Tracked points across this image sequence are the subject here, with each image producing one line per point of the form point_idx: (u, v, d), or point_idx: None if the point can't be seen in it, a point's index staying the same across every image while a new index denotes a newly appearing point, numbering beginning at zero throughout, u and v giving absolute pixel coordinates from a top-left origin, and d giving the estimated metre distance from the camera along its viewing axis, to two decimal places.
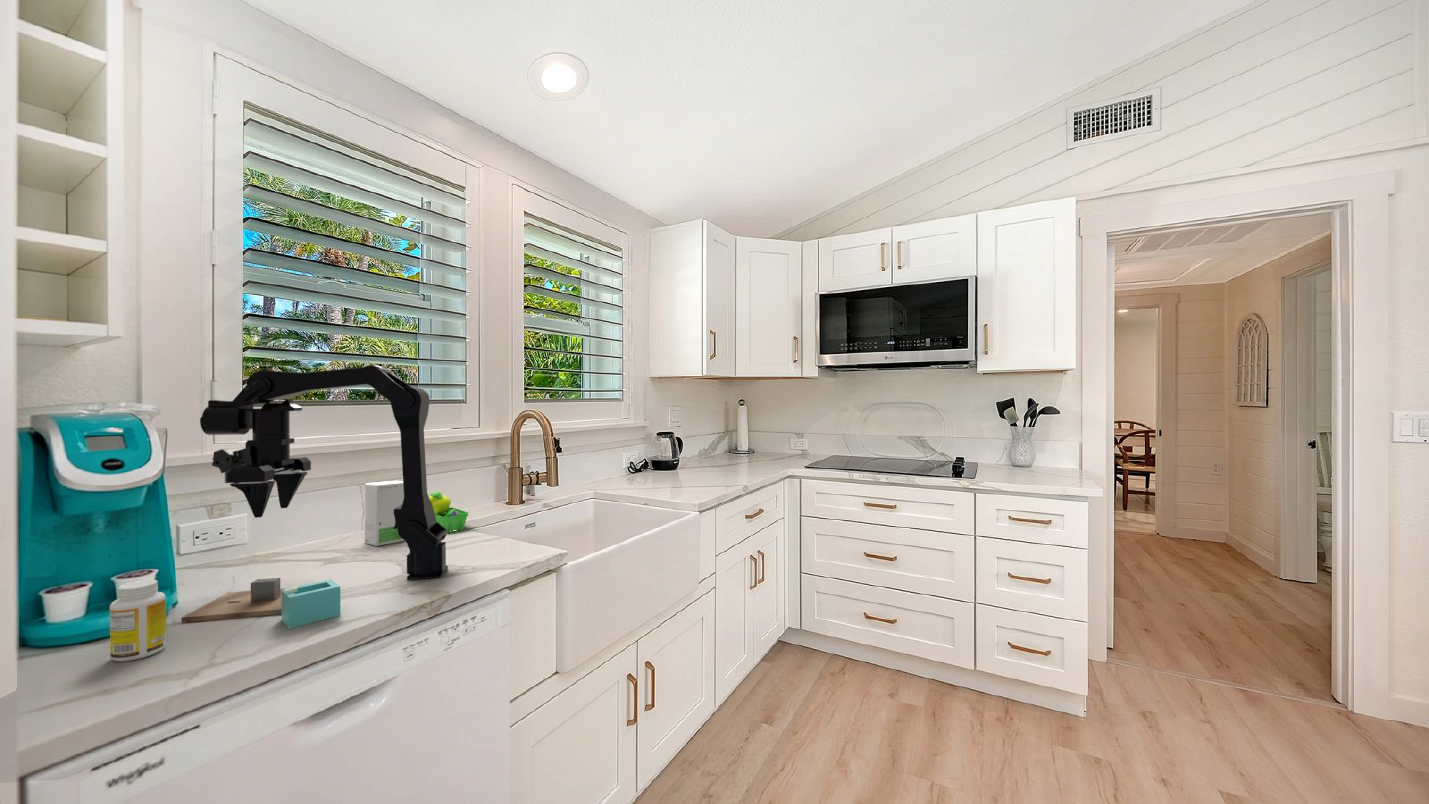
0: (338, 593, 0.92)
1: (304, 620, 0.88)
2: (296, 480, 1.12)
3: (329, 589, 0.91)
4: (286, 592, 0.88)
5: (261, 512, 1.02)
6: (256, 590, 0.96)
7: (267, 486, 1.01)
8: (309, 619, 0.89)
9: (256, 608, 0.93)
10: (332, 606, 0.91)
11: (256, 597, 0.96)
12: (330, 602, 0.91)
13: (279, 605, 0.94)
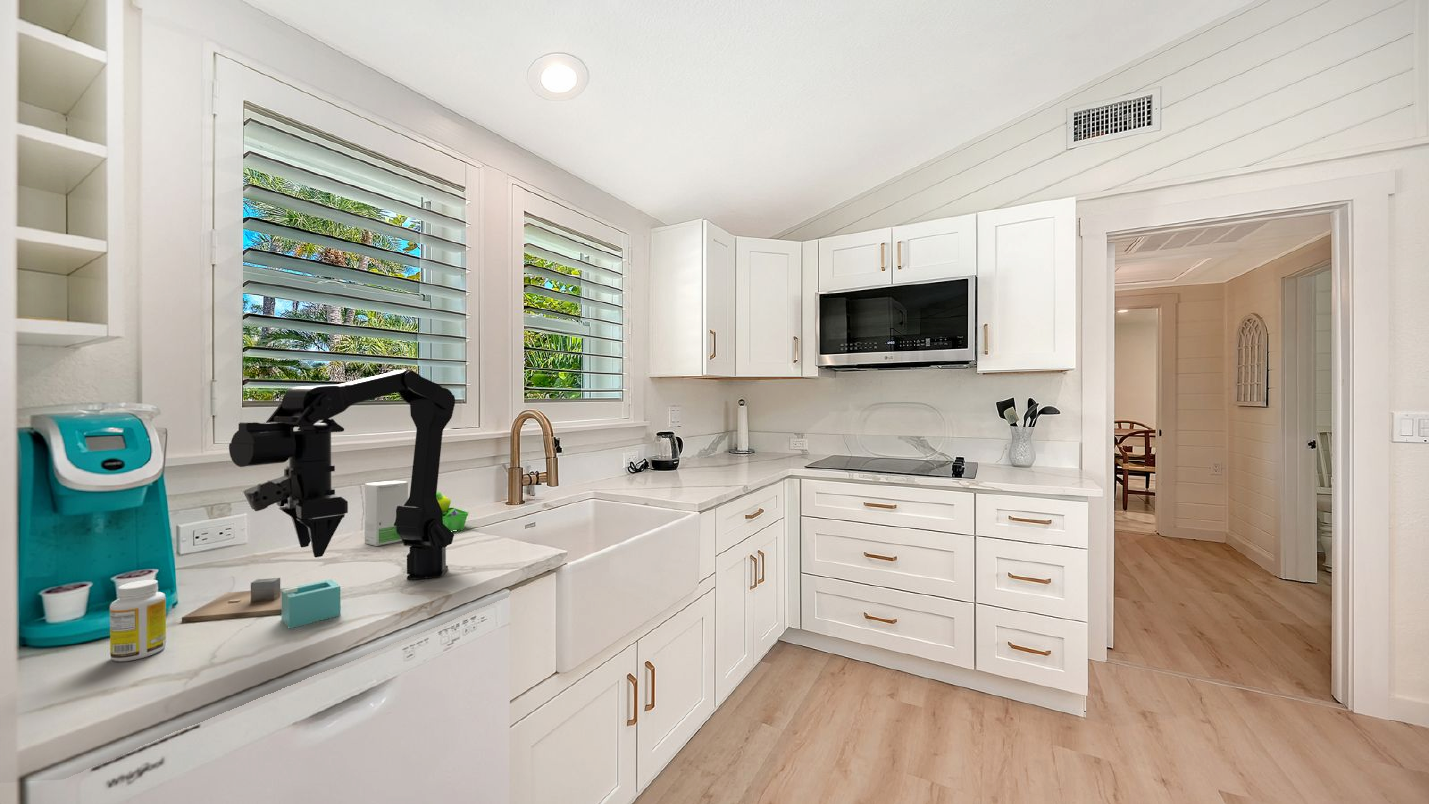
0: (338, 593, 0.92)
1: (304, 620, 0.88)
2: None
3: (329, 589, 0.91)
4: (286, 592, 0.88)
5: (324, 550, 0.88)
6: (256, 590, 0.96)
7: (341, 518, 0.89)
8: (309, 619, 0.89)
9: (256, 608, 0.93)
10: (332, 606, 0.91)
11: (256, 597, 0.96)
12: (330, 602, 0.91)
13: (279, 605, 0.94)
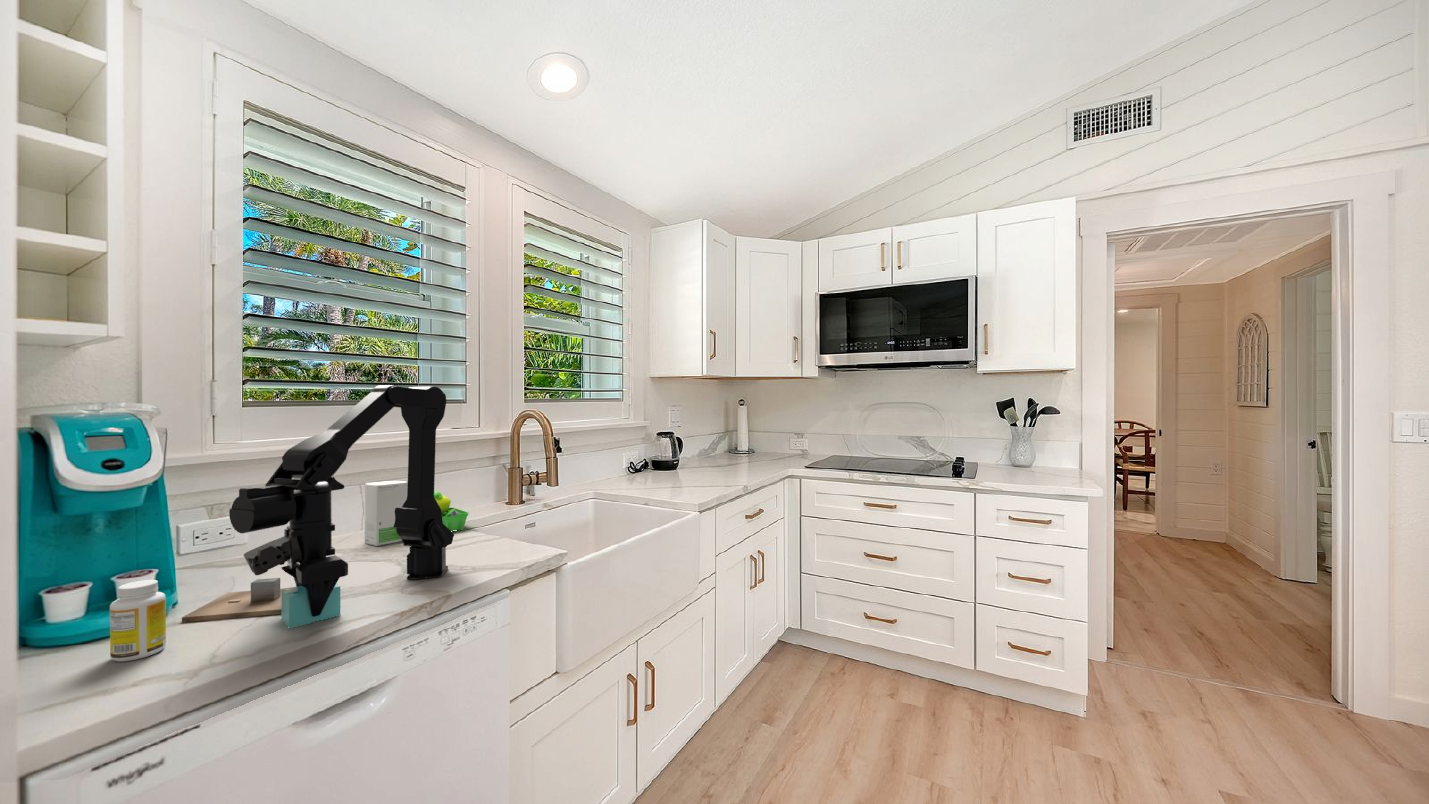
0: (338, 593, 0.92)
1: (304, 621, 0.88)
2: None
3: None
4: (286, 592, 0.88)
5: (321, 609, 0.89)
6: (256, 590, 0.96)
7: (338, 578, 0.90)
8: (309, 619, 0.89)
9: (256, 608, 0.93)
10: (332, 606, 0.91)
11: (256, 597, 0.96)
12: (330, 602, 0.91)
13: (279, 605, 0.94)
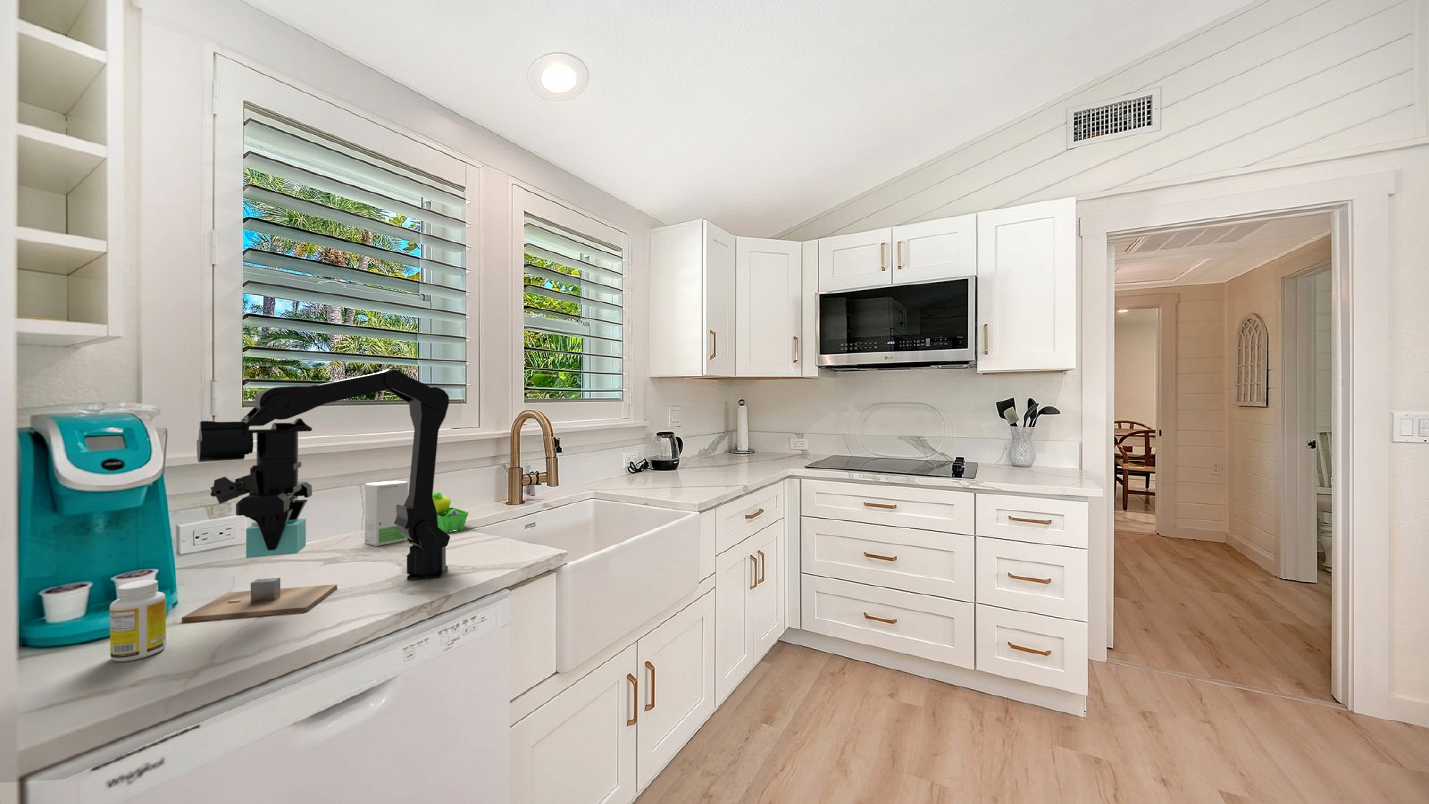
0: (295, 531, 0.94)
1: (261, 553, 0.92)
2: (297, 509, 0.99)
3: (286, 526, 0.93)
4: (252, 524, 0.93)
5: (276, 544, 0.92)
6: (256, 590, 0.96)
7: (286, 515, 0.91)
8: (265, 552, 0.92)
9: (256, 608, 0.93)
10: (288, 543, 0.93)
11: (256, 597, 0.96)
12: (286, 539, 0.93)
13: (279, 605, 0.94)
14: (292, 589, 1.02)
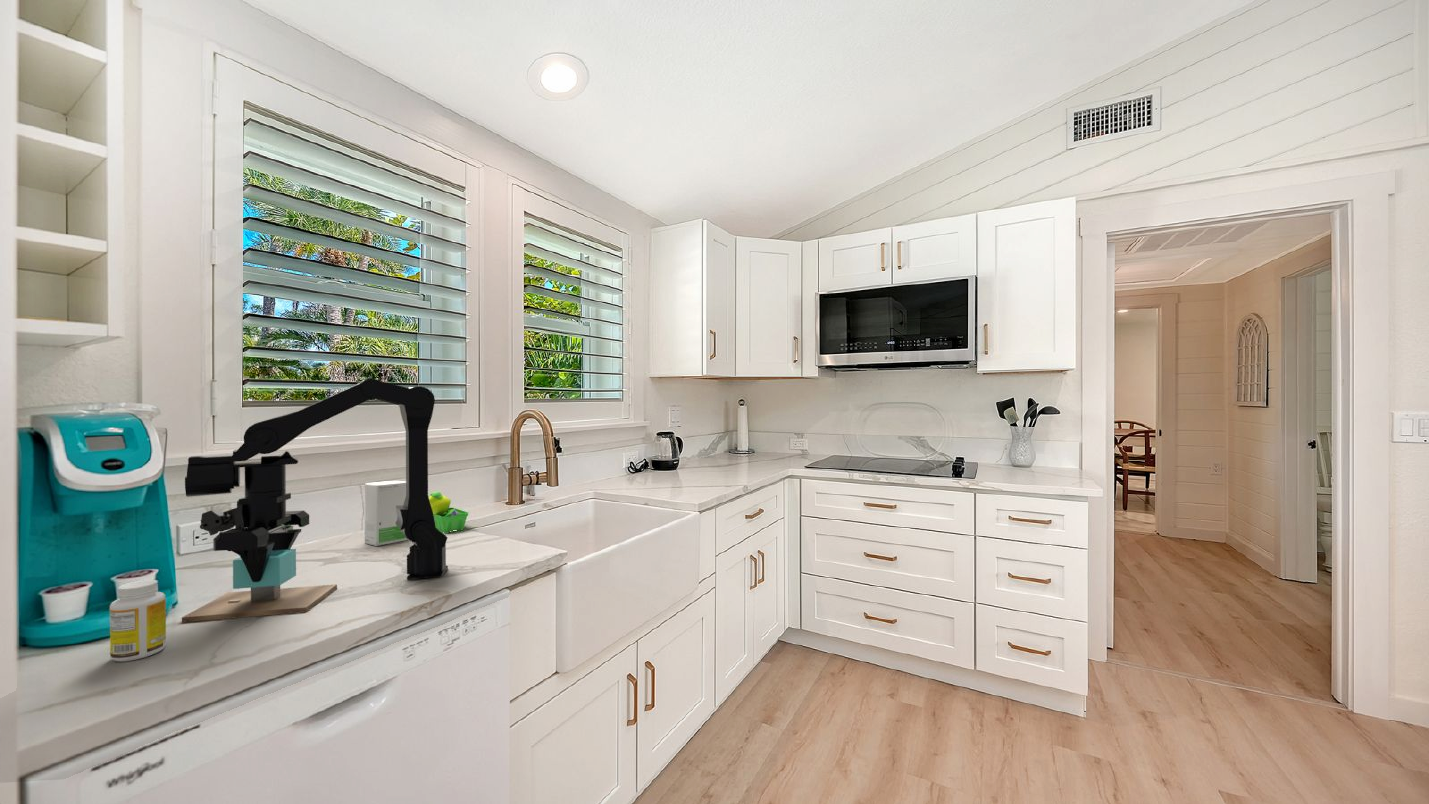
0: (277, 564, 0.95)
1: (246, 584, 0.94)
2: (288, 540, 1.01)
3: (269, 558, 0.95)
4: None
5: (260, 576, 0.94)
6: (256, 590, 0.96)
7: (266, 549, 0.93)
8: (250, 584, 0.94)
9: (256, 608, 0.93)
10: (272, 575, 0.95)
11: (256, 597, 0.96)
12: (270, 571, 0.95)
13: (279, 605, 0.94)
14: (292, 589, 1.02)
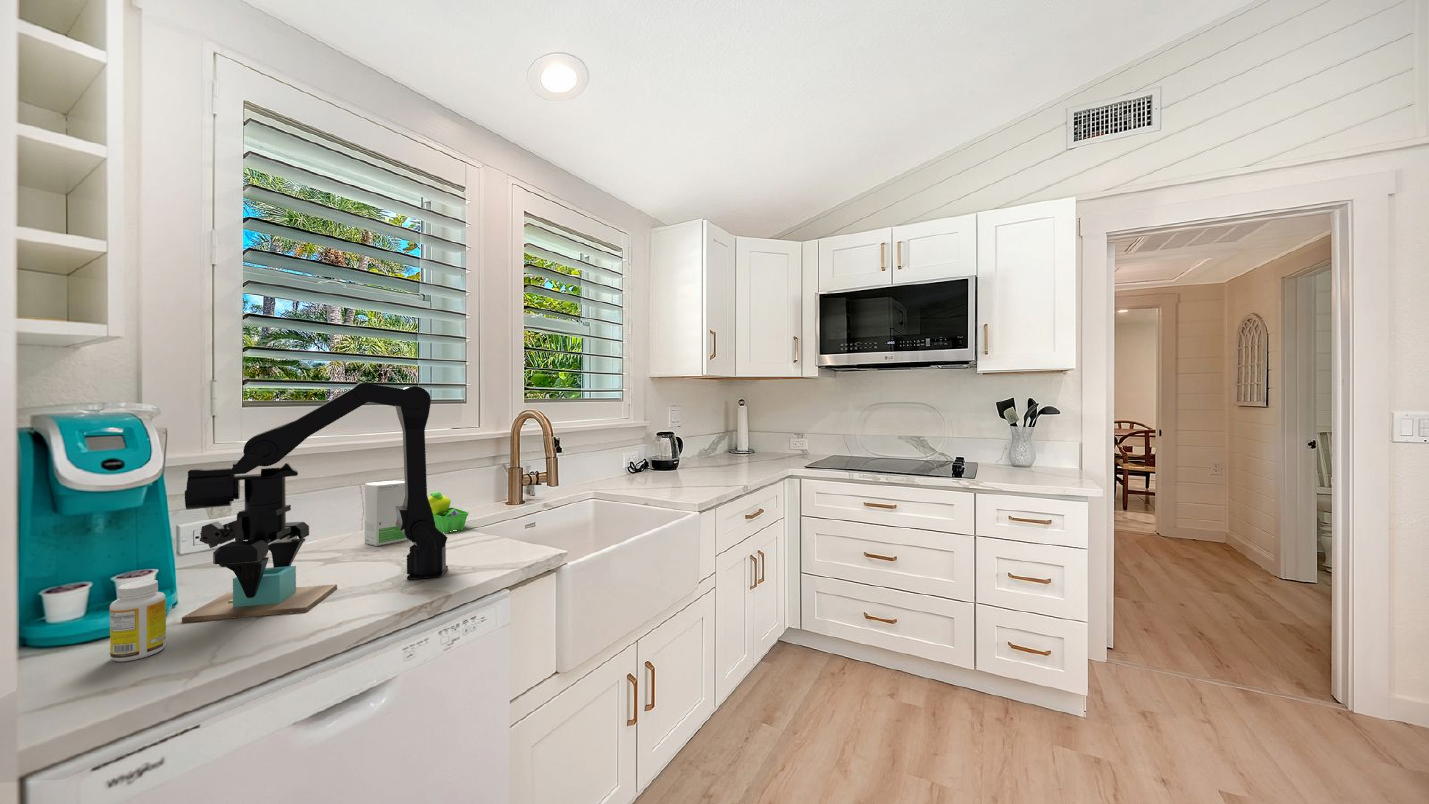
0: (278, 581, 0.95)
1: (246, 602, 0.94)
2: (293, 549, 1.02)
3: (269, 576, 0.95)
4: None
5: (254, 592, 0.92)
6: None
7: (260, 564, 0.91)
8: (250, 602, 0.94)
9: (256, 608, 0.93)
10: (272, 593, 0.95)
11: None
12: (270, 589, 0.95)
13: (279, 605, 0.94)
14: None
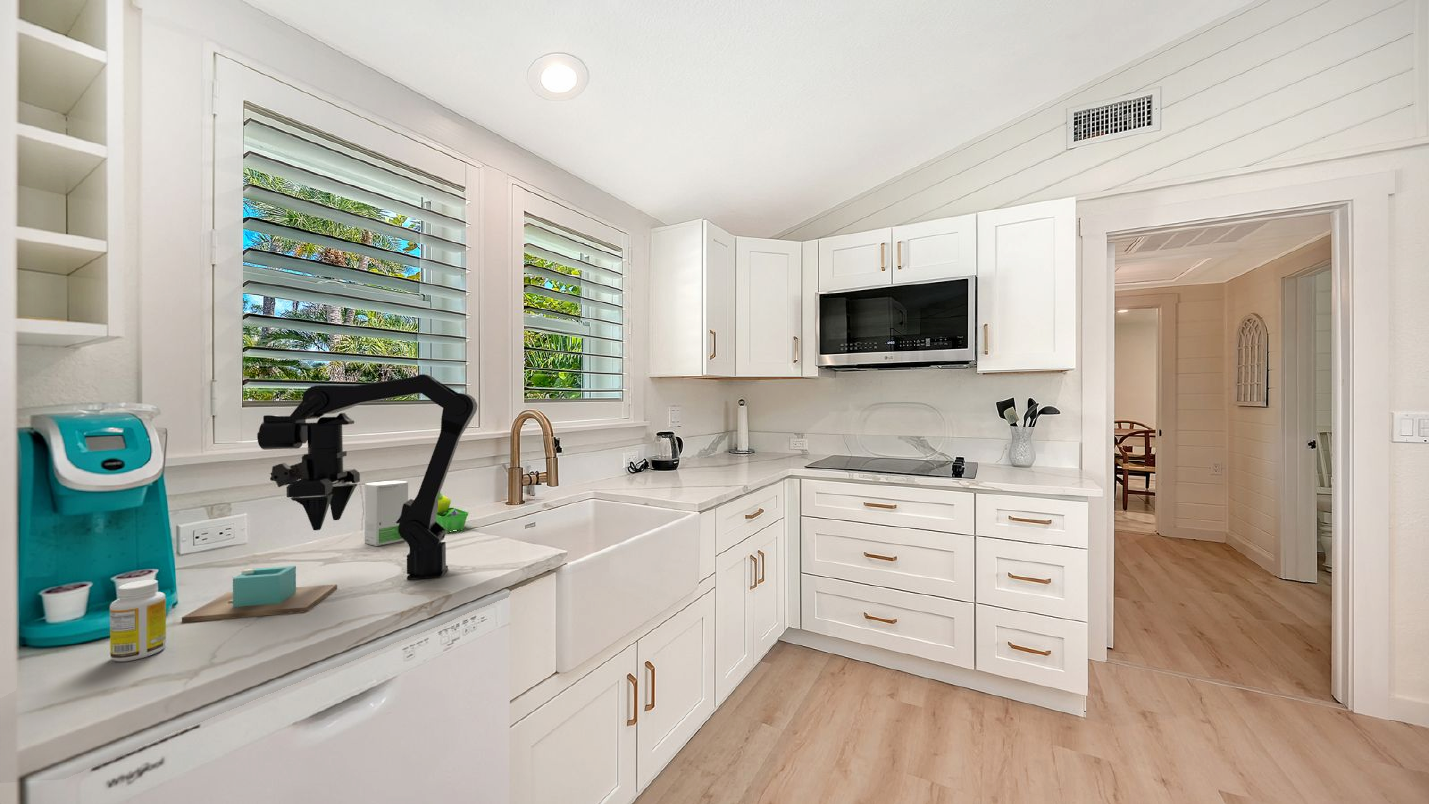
0: (278, 581, 0.95)
1: (246, 602, 0.94)
2: (347, 492, 1.14)
3: (269, 576, 0.95)
4: (242, 572, 0.96)
5: (320, 525, 1.04)
6: None
7: (326, 499, 1.02)
8: (250, 602, 0.94)
9: (256, 608, 0.93)
10: (272, 593, 0.95)
11: None
12: (270, 589, 0.95)
13: (279, 605, 0.94)
14: None
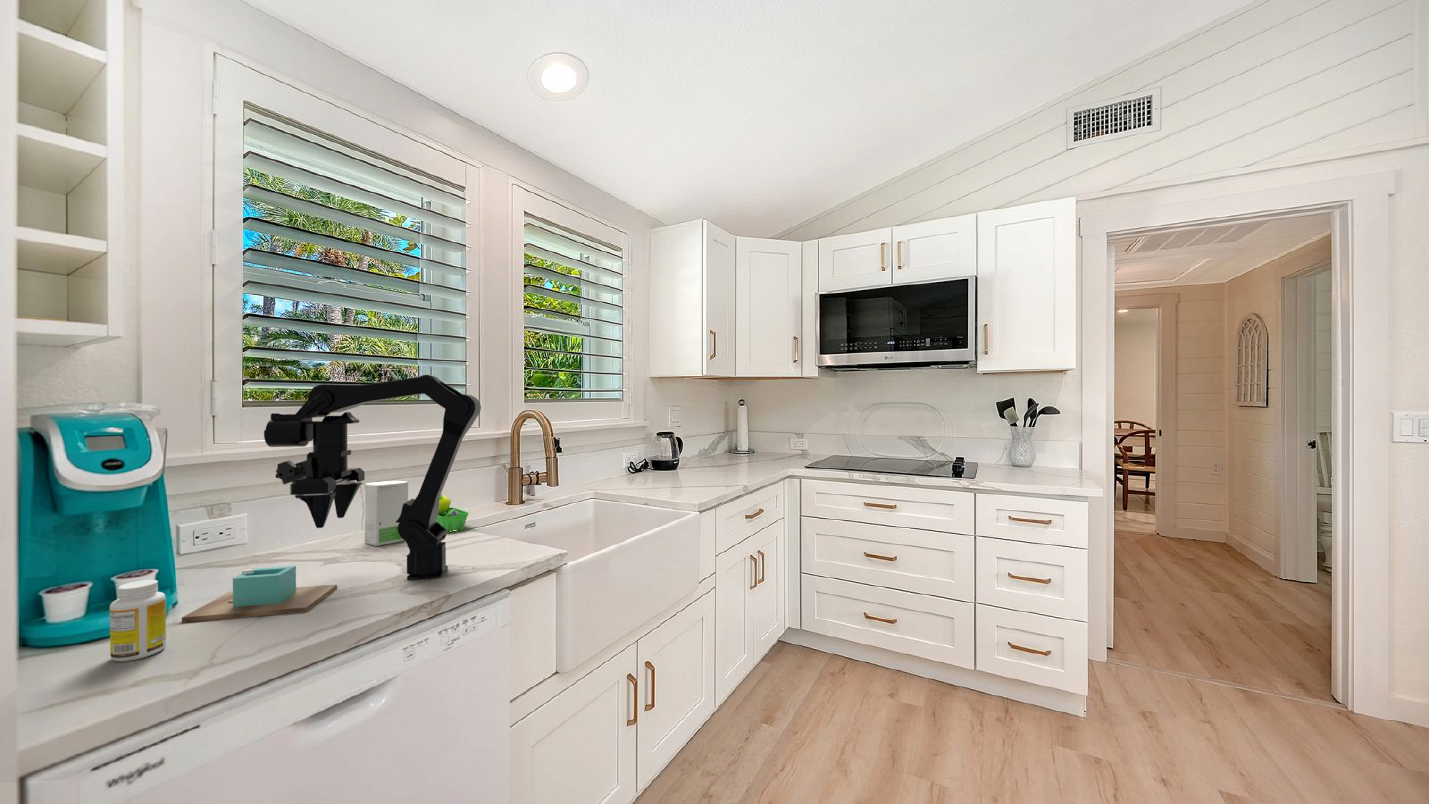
0: (278, 581, 0.95)
1: (246, 602, 0.94)
2: (352, 490, 1.15)
3: (269, 576, 0.95)
4: (242, 572, 0.96)
5: (323, 523, 1.05)
6: None
7: (329, 497, 1.03)
8: (250, 602, 0.94)
9: (256, 608, 0.93)
10: (272, 593, 0.95)
11: None
12: (270, 589, 0.95)
13: (279, 605, 0.94)
14: None
